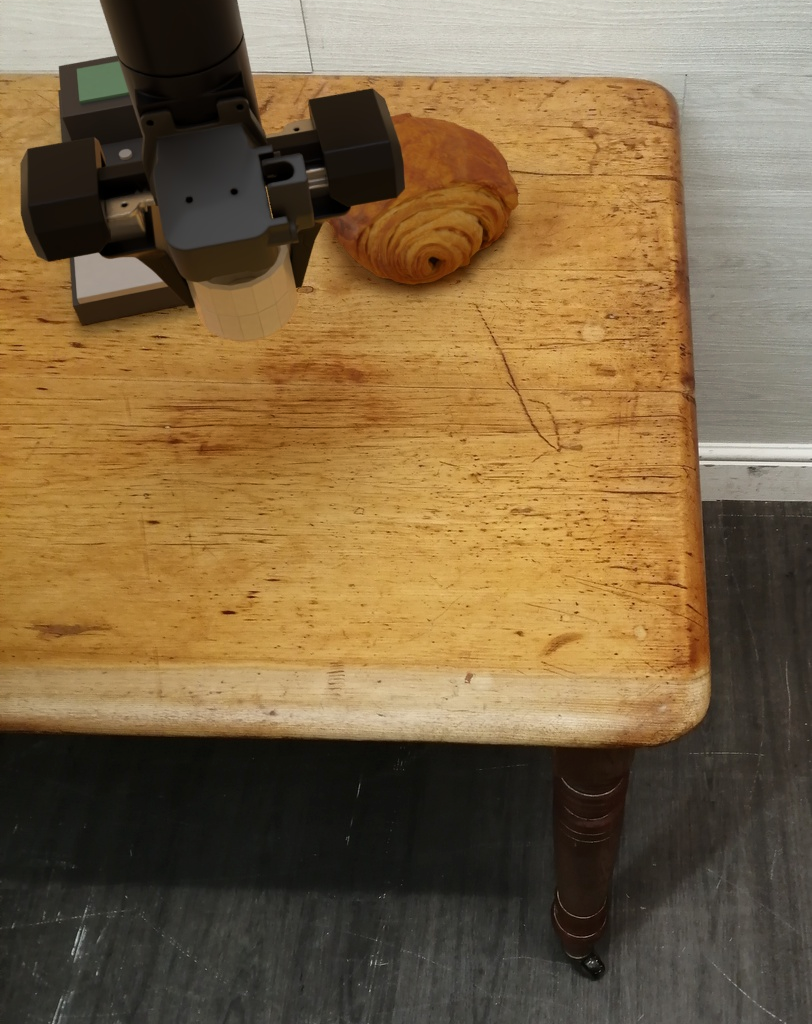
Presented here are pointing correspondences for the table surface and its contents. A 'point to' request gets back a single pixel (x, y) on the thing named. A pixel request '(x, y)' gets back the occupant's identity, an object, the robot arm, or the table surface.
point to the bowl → (248, 301)
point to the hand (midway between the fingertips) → (244, 293)
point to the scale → (112, 121)
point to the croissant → (432, 205)
